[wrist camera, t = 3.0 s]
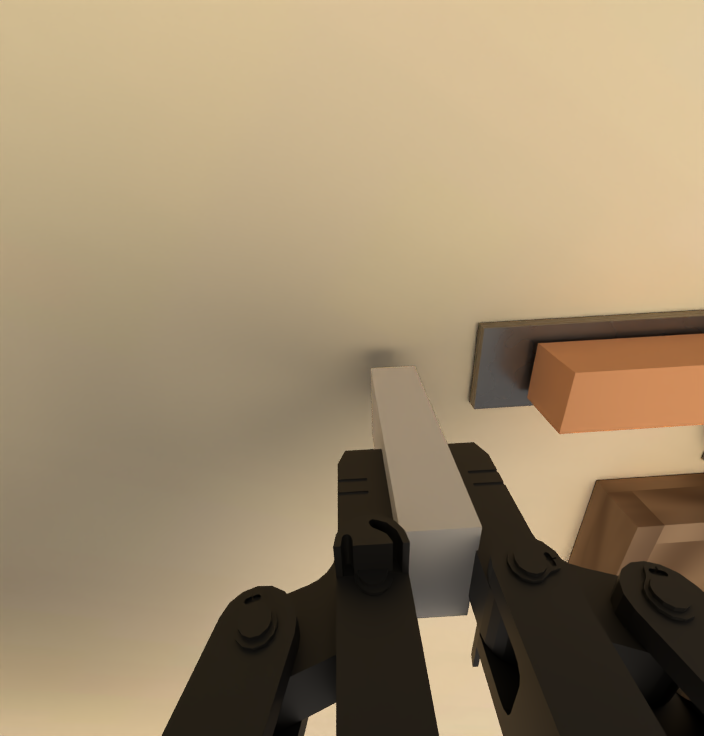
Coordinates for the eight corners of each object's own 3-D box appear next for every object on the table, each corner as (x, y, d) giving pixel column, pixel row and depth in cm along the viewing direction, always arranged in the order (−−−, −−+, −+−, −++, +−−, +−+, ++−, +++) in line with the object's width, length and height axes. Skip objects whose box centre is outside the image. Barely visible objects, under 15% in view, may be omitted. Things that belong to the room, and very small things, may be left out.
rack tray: (555, 600, 23) (582, 651, 21) (596, 480, 19) (637, 527, 16) (711, 588, 23) (756, 637, 21) (789, 467, 19) (859, 511, 16)
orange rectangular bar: (526, 397, 15) (559, 433, 13) (538, 343, 14) (575, 373, 12) (719, 385, 15) (782, 419, 13) (744, 331, 14) (818, 358, 12)
